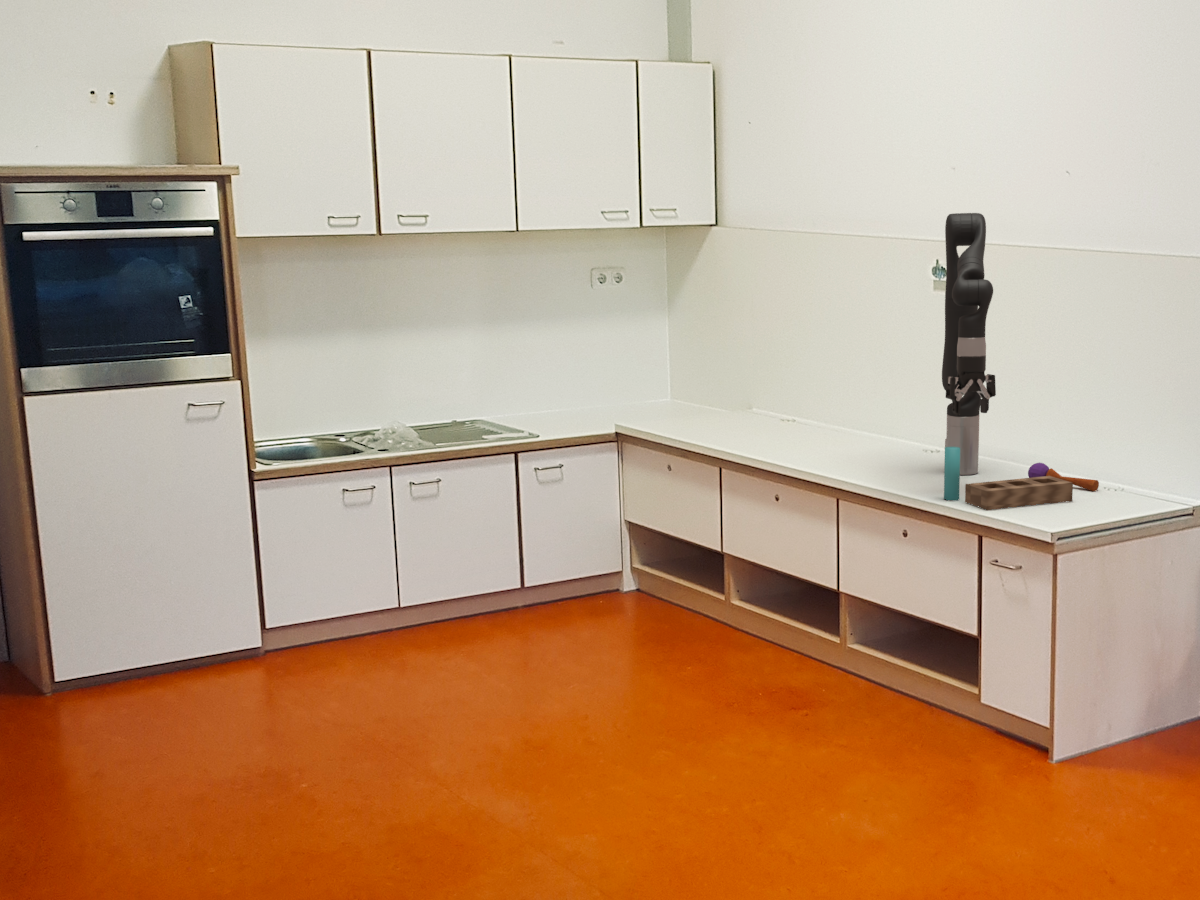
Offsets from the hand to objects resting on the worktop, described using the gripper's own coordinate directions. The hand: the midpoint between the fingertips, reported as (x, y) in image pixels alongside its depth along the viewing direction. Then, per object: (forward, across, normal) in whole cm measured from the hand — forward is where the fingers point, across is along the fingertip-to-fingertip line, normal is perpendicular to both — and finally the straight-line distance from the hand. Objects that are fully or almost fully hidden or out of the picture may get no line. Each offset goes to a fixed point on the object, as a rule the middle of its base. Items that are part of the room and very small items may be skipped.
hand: (970, 413), depth 363 cm
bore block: (+22, -6, +14) cm, 27 cm away
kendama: (+22, -28, +3) cm, 36 cm away
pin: (+22, +8, +4) cm, 24 cm away
